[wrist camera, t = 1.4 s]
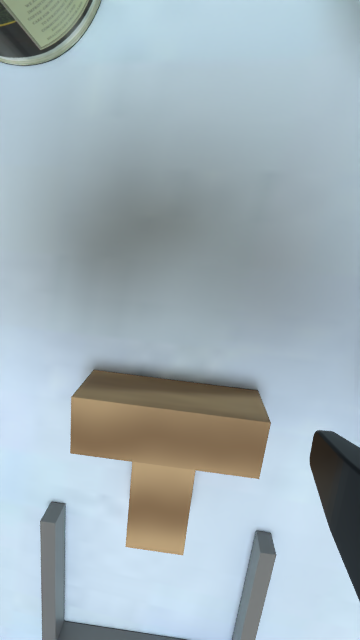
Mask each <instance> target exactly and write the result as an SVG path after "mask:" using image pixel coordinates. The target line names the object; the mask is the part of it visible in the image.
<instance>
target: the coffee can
mask: <svg viewBox="0 0 360 640" xmlns="http://www.w3.org/2000/svg"><path fill="white" fill-rule="evenodd" d="M100 2H101V0H0V62H4V63H8V64H13V65H35V64H40V63H43V62H47V61H50V60H52V59H54V58H57V57H58V56H60V55H61V54H63V53H64V52H66V51H67V50H68V49H69V48H71V47H72V46H73V45H74V44H75V43H76V42H77V41H78V40H79V39H80V37H81V36H82V35H83V34H84V32H85V31H86V30H87V28H88V27H89V25H90V23H91V21H92V20H93V18H94V16H95V14H96V12H97V9H98V7H99V5H100Z"/></svg>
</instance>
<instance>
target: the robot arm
mask: <svg viewBox="0 0 360 640" xmlns="http://www.w3.org/2000/svg"><path fill="white" fill-rule="evenodd" d="M310 466H311V470H312V473H313V476H314V480H315V483H316V486H317V490H318V493H319V496H320V500H321V503H322V506H323V509H324V513H325V516H326V519H327V522H328V525H329V528H330V531H331V533H332V536H333V538H334V541H335V543H336V545H337V548H338V550H339V553H340V555H341V558H342V560H343V562H344V565H345V567H346V570H347V572H348V574H349V577H350V579H351V582H352V584H353V586H354V589H355V591H356V594H357V596H358V598H359V601H360V448H359V447H358V446H356V445H354V444H353V443H351V442H349V441H348V440H346V439H344V438H343V437H341V436H340V435H338V434H336V433H335V432H332V431H322V430H317V431H316V432H315V434H314V437H313V442H312V448H311V453H310Z"/></svg>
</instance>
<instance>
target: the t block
mask: <svg viewBox="0 0 360 640" xmlns="http://www.w3.org/2000/svg"><path fill="white" fill-rule="evenodd" d="M270 424H271V422H270V420H269V417H268V415H267V412H266V409H265V407H264V404H263V402H262V399H261V397H260V394H259V392H258V391H257V390H249V389H241V388H233V387H225V386H217V385H210V384H202V383H194V382H186V381H178V380H170V379H162V378H154V377H146V376H138V375H130V374H122V373H114V372H107V371H99V370H93V371H92V373H91V374H90V375H89V376H88V377H87V379H86V380H85V381H84V382H83V384H82V385H81V386H80V387H79V388H78V390H77V391H76V392H75V393H74V394H73V396H72V397H71V449H70V453H72V454H80V455H87V456H94V457H102V458H109V459H116V460H124V461H131V462H132V474H131V486H130V499H129V511H128V524H127V537H126V547H130V548H137V549H144V550H151V551H158V552H164V553H171V554H178V555H183V553H184V546H185V539H186V532H187V525H188V518H189V511H190V504H191V497H192V490H193V483H194V476H195V470H197V471H205V472H212V473H220V474H227V475H234V476H242V477H249V478H256V479H259V477H260V472H261V467H262V462H263V458H264V453H265V448H266V443H267V438H268V434H269V429H270Z"/></svg>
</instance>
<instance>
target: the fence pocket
mask: <svg viewBox="0 0 360 640" xmlns="http://www.w3.org/2000/svg"><path fill="white" fill-rule="evenodd" d="M40 533H41V593H42V640H183V639H176V638H170V637H163V636H157V635H150V634H144V633H137V632H131V631H124V630H118V629H111V628H105V627H98V626H92V625H85V624H79V623H72V622H66V621H64V573H65V504H62V503H55V502H51V503H50V505H49V507H48V509H47V510H46V512H45V514H44V516H43V517H42V519H41V521H40ZM275 558H276V552H275V548H274V544H273V540H272V536H271V533H268V532H261V531H256V534H255V538H254V543H253V547H252V552H251V556H250V561H249V565H248V570H247V575H246V579H245V584H244V588H243V593H242V597H241V602H240V606H239V611H238V615H237V620H236V625H235V629H234V634H233V638H232V640H255V638H256V634H257V630H258V626H259V622H260V618H261V614H262V610H263V606H264V602H265V598H266V594H267V590H268V586H269V582H270V578H271V574H272V570H273V566H274V562H275Z"/></svg>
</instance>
